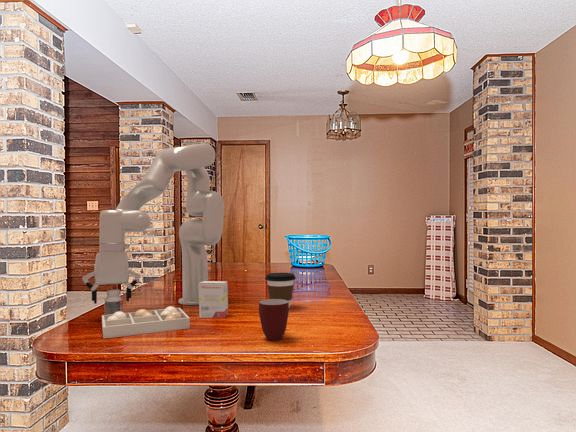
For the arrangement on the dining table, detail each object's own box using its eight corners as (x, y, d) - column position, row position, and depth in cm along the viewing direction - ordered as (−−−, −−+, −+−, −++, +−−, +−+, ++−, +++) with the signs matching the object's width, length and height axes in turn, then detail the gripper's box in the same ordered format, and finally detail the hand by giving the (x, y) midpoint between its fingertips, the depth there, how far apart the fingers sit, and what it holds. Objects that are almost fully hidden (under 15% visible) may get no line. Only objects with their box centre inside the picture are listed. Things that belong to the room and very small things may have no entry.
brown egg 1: (130, 324, 135) (130, 309, 135) (141, 320, 139) (141, 307, 139) (146, 326, 132) (146, 312, 132) (157, 323, 136) (157, 309, 136)
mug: (260, 332, 126) (260, 297, 126) (289, 332, 126) (288, 297, 126) (258, 343, 116) (257, 305, 116) (289, 343, 116) (288, 304, 116)
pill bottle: (124, 321, 142) (124, 290, 142) (106, 323, 139) (106, 292, 139) (120, 317, 146) (120, 288, 146) (103, 320, 143) (102, 290, 143)
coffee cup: (302, 307, 158) (302, 274, 158) (281, 313, 150) (280, 277, 150) (280, 303, 165) (279, 271, 165) (259, 308, 157) (258, 274, 157)
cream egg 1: (119, 323, 136) (119, 309, 136) (130, 324, 134) (129, 310, 134) (102, 328, 130) (102, 314, 130) (113, 330, 128) (113, 315, 128)
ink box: (228, 316, 147) (228, 280, 146) (224, 319, 142) (224, 283, 142) (203, 315, 148) (203, 280, 148) (198, 319, 143) (198, 282, 143)
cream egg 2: (169, 318, 142) (168, 304, 142) (180, 319, 141) (180, 305, 141) (156, 323, 136) (155, 309, 136) (168, 324, 135) (167, 310, 135)
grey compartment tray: (179, 318, 144) (179, 307, 144) (189, 330, 130) (189, 317, 130) (101, 327, 135) (101, 315, 134) (103, 340, 120) (103, 327, 120)
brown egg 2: (171, 323, 135) (171, 309, 135) (184, 324, 134) (184, 309, 134) (160, 329, 129) (160, 314, 129) (173, 330, 128) (173, 315, 128)
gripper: (139, 247, 149) (138, 298, 149) (82, 248, 142) (82, 301, 142) (141, 248, 142) (141, 301, 142) (82, 249, 135) (81, 306, 135)
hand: (111, 301), depth 142 cm, fingers open, 9 cm apart
